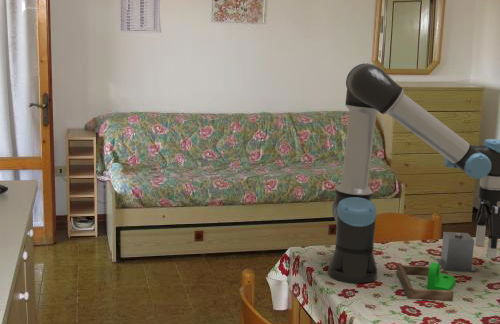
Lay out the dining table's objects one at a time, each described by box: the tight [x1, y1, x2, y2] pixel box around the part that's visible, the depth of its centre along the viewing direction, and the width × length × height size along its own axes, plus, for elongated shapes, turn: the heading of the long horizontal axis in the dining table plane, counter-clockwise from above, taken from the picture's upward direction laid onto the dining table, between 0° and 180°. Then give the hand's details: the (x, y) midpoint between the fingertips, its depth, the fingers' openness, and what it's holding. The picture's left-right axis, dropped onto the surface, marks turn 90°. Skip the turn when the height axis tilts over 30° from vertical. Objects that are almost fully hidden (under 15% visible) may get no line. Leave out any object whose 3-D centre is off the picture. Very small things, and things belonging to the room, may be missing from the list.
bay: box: [396, 262, 455, 301], centre depth 201 cm, size 13×21×3 cm, turn 176°
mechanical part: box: [426, 261, 456, 291], centre depth 200 cm, size 12×6×8 cm, turn 149°
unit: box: [436, 231, 476, 273], centre depth 219 cm, size 10×10×11 cm
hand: (485, 250), depth 218 cm, fingers open, 13 cm apart
